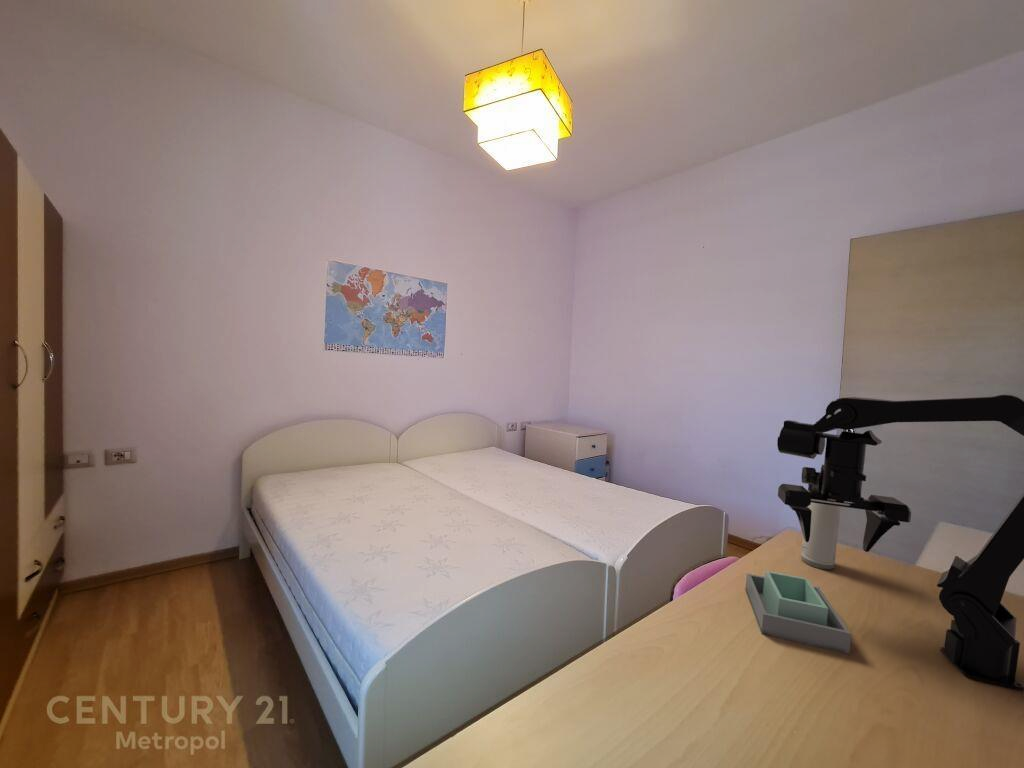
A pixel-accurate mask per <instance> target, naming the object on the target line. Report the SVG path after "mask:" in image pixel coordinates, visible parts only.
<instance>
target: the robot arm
mask: <svg viewBox="0 0 1024 768" xmlns="http://www.w3.org/2000/svg"><path fill="white" fill-rule="evenodd" d="M936 422H937V423H940V422H941V423H942V422H944V423H946V422H954V423H955V422H1000V423H1002V424H1003V425H1005V426H1007V427H1008V428H1010V429H1012V430H1013V431H1014V432H1016V433H1018V434H1020V435H1021V436H1023V437H1024V399H1022V398H1021V397H1020V396H1017V395H1013V394H1006V393H1005V394H999V395H995V396H978V397H977V396H976V397H975V396H974V397H957V398H956V397H955V398H951V397H950V398H934V399H933V398H932V399H913V400H912V399H911V400H910V399H908V400H891V399H882V398H881V399H879V398H873V397H872V398H871V397H870V398H869V397H858V396H849V397H848V396H847V397H839V398H836V399H833V400H832V401H831V402H830V403H829V404H828V405H827V406H826V408H825V414H824V415H823V416H822V417H821V418H819V420H817V421H815V423H814V424H812V423H804V422H799V421H796V420H789V419H788V420H784V421H783V426H782V428H781V430H780V432H779V436H777V440H776V441H777V443H776V445H777V451H778V452H779V453H780V454H785V455H790V456H797V457H802V458H807V459H812V460H814V459H815V458H816V457H817V455H818V456H821V455H823V454H824V462H823V464H821V467H820V471H816V468H815V467H808V466H804V467H802V470H801V483H802V484H806V485H808V484H812V489H813V490H817V491H821V493H813V492H809V491H808V489H807V488H805V487H804V486H803V485H797V484H791V483H790V484H789V483H788V484H787V483H781V484H780V485H779V486H778V490H777V497H778V498H779V499H780V501H782V503H784V505H786V506H788V507H789V508H790V509H791V510H792V511H794V512H795V514H796V516H797V519H798V522H799V526H800V529H801V533H802V536H803V537H804V540H805V541H806V542H809V538H810V530H811V515H812V511H811V510H810V509H809V508H808V506H809V505H811V502H812V503H819V504H826V505H834V506H841V507H844V508H850V509H857V510H863V511H865V517H866V522H865V528H864V529H865V530H864V535H863V540H862V541H863V542H862V549H863V551H864V552H865V553H869V552H870V551H871V549H872V548H873V547H874V546H875V545H876V543H877V542H878V541H879V540H881V538H882V537H883V536H884V535H885V534H886V533H887V532H889V530H890V529H892V528H893V527H894V526H898V527H900V526H901V523H902V522H903V523H911V519H912V510H911V508H910V507H909V506H908V505H907V504H905V503H903V502H902V501H900V500H899V499H897V498H895V497H893V496H884V495H876V494H870V495H869V496H868V498H867V499H866V498H864V497H862V488H863V482H866V481H867V475H866V474H864V469H865V458H866V452H867V451H866V450H867V449H866V448H867V445H868V446H878V445H880V444H882V442H883V441H882V439H880V438H879V437H878V436H876V435H875V434H874V432H873V430H871V429H869V430H865V431H864V432H863V433H862V432H861V433H860V432H854V431H847V430H855V429H861V428H869V427H875V426H882V425H887V424H893V423H936ZM838 429H839V430H842V432H840V434H833V433H827V432H832V431H835V430H838ZM845 430H846V431H845ZM824 450H825V452H824ZM828 499H831V500H828ZM832 500H836V501H832ZM803 537H802V538H803ZM1023 561H1024V492H1023V493H1022V495H1021V496H1020V497H1019V498H1018V500H1017V501H1016V502H1015V503H1014V505H1013V507H1011V509H1010V511H1009V512H1008V513H1007V514H1006V515H1005V517H1004V518H1003V520H1002V521H1001V522H1000V524H999V525H998V526H997V528H996V529H995V530H994V532H993V533H992V534H991V536H990V537H989V539H988V540H987V541H986V543H985V544H984V546H983V547H982V548H981V549H980V551H979V552H978V553H977V554H976V555H974V556H973V557H971V558H970V559H969V560H967V561H965V560H964V559H962V558H961V557H959V556H957V555H955V556H954V558H953V561H952V563H951V565H950V567H949V569H948V570H946V571H944V572H942V573H941V575H940V577H939V580H938V581H937V584H936V587H938V588H941V589H940V591H939V595H938V600H939V602H940V604H941V605H942V607H943V608H944V610H945V611H946V612H947V613H948V614H949V615H951V616H953V619H951V620H950V628H947V629H946V631H945V639H944V646H940V649H939V650H940V652H941V653H942V654H943V655H945V656H946V658H947V659H948V660H949V661H950V662H951V663H952V664H953V665H954V666H955V667H956V668H957V669H958V670H959V671H960V673H962V675H964V676H965V677H966V678H969V679H973V680H976V681H979V682H980V681H981V682H986V683H990V684H994V685H998V686H1003V687H1005V688H1010V689H1015V690H1019V691H1024V685H1023V684H1022V683H1021V682H1020V681H1019V680H1018V679H1017V678H1016V677H1017V670H1018V663H1019V654H1020V648H1021V643H1020V642H1019V641H1018V640H1017V639H1016V636H1017V635H1016V633H1017V617H1016V616H1015V615H1014V614H1013V613H1012V612H1011V611H1010V610H1009V609H1008V608H1007V607H1006V606H1004V604H1003V603H1002V599H1003V597H1004V593H1005V591H1006V588H1007V586H1008V582H1009V579H1010V577H1011V576H1012V575H1013V573H1014V572H1015V571H1016V570H1017V568H1018V567H1019V565H1020V564H1022V562H1023Z"/></svg>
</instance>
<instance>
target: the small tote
mask: <svg viewBox="0 0 1024 768" xmlns="http://www.w3.org/2000/svg"><path fill="white" fill-rule="evenodd" d="M763 577H764V588H763V597H764V599H765V601H766V604H767V606H768V608H769V610H770V613H771V614H773V615H778V616H782V617H787V618H791V619H796V620H800V621H805V622H809V623H814V624H818V625H823V626H827V616H828V608H827V606H826V605H825V603H824V602H823V600H822V599H821V597H820V596H819V594H818V593H817V592H816V590H815V589H814V587H815V586H814V585H813V584H812V583H811V582H810V581H811V580H809V579H808V578H806V577H802V576H801V577H800V576H797V575H791V574H785V573H780V572H775V571H770V570H765V571H764V575H763ZM813 586H814V587H813Z"/></svg>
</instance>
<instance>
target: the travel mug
mask: <svg viewBox="0 0 1024 768" xmlns="http://www.w3.org/2000/svg"><path fill="white" fill-rule="evenodd" d="M807 485H808V487H807V491H809V492H813V493H821V491H817V490H813V489H812V484H807ZM828 500H831V499H828ZM832 501H836V500H832ZM808 508H809V509H810V510H811V511H812V515H811V530H810V538H809V542H806V541H805V540H804V537H802V544H801V555H800V558H801V560H802V562H803V563H805V564H807V565H809V566H811V567H814V568H816V569H821V570H829V571H831V570H833V569H834V568H836V567H835V565H836V558H837V557H836V556H837V546H838V537H839V536H838V535H839V527H840V526H839V525H840V518H841V517H840V516H841V506H834V505H826V504H819V503H812V502H811V505H809V506H808Z"/></svg>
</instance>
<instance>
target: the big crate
mask: <svg viewBox="0 0 1024 768" xmlns="http://www.w3.org/2000/svg"><path fill="white" fill-rule="evenodd" d="M812 586H813V587H814V589H815V590H816V592H817V593H818V594H819V596H820V597H821V599H822V600H823V602H824V603H825V605H826V606H827V608H828V616H827V626H823V625H818V624H814V623H809V622H805V621H800V620H796V619H791V618H787V617H782V616H778V615H773V614H771V613H770V610H769V608H768V606H767V604H766V601H765V599H764V597H763V588H764V575H763V576H762V575H757V574H751V573H746V577H745V589H744V590H745V593H746V595H747V598H748V601H749V604H750V606H751V608H752V611H753V614H754V617H755V619H756V620H755V621H757V622H756V623H757V624H758V627H759V631H760V633H761V634H764V635H767V636H771V637H776V638H780V639H784V640H788V641H793V642H796V643H800V644H801V643H802V644H804V645H805V644H806V645H810V646H813V647H818V648H822V649H826V650H831V651H835V652H839V653H842V654H843V653H844V654H847V655H849V654H850V649H851V641H852V632H851V631H850V630H849V628H848V627H847V625H846V624H845V623H844V621H843V619H842V618H841V617H840V615H839V614H838V612H837V611H836V610H835V608H834V606H833V605H832V604H831V603H830V601H829V600H828V599H827V597H826V595H825V594H824V592H823V591H822V589H821V588H820V587H818V586H814V585H812Z"/></svg>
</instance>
